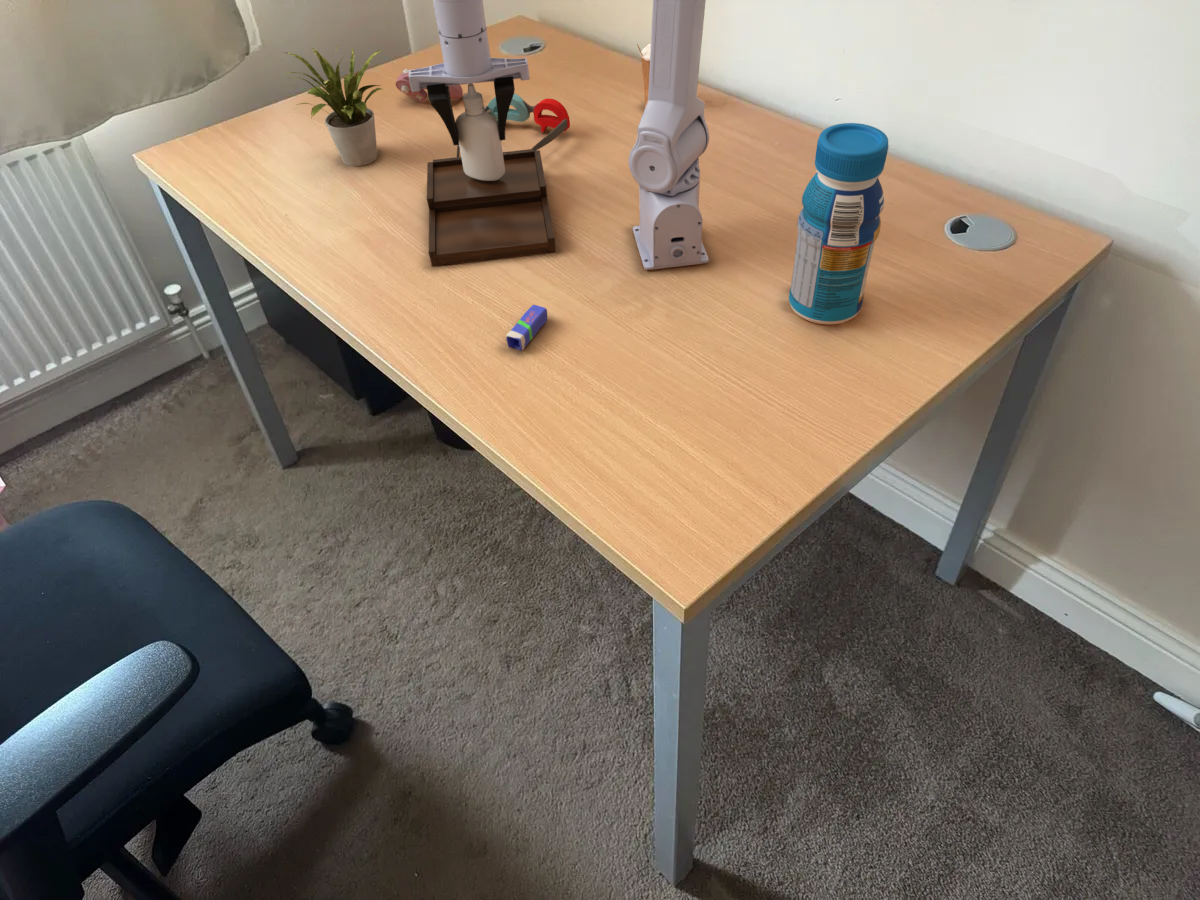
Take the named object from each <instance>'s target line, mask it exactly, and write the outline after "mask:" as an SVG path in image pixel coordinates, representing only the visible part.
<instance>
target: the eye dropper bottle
mask: <svg viewBox="0 0 1200 900" xmlns="http://www.w3.org/2000/svg"><path fill="white" fill-rule="evenodd" d="M462 99H463V100H462V101H463V108H464V111H463V112H461V113H460V114H459V115H458V116H457V117H456V118H455V122H456V128H457V133H458V138H459V147H460V150H459V151H460V153H459V154H460V157H461V159H462V164H463V170H464V172H465V174H466V175H468V176H470V177H472V178H474V179H478V180H484V181H496V180H498V179H500V178H501V177H502V176H503V175H504V174H505V166H504V159H503V152H504V151H503V146H502V145H503V144H502V140H500V136H499V125H498V122H497V120H496V119H495V118H494V117H493V116H492V115H490V114H489V113H487V112H485V111H484V108H485V104H484V99H483V94H482V93H481V92H479V91H476V88H475V85H474V83H472V84H467V92H466V93H464V95H463V96H462Z"/></svg>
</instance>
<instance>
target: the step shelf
mask: <svg viewBox="0 0 1200 900" xmlns="http://www.w3.org/2000/svg"><path fill="white" fill-rule="evenodd" d="M503 159H504V166H505V174H504V175H503V176H502V177H501V178H500V179H498V180H496V181H484V180H478V179H474V178H472V177H470V176H468V175H466V174H465V172H464V170H463V164H462V159H461V156H459V157H457V156H455V157H447V158H436V159H432V161H429V162H427V166H426V167H427V168H426V202H427V206H428V255H429V260H430V265H431V267H437V266H438V267H439V266H446V265H455V264H465V263H473V262H481V261H489V260H491V261H492V260H499V259H507V258H516V257H525V256H533V255H543V254H549V253H556V251H557V250H556V249H557V248H556V240H555V233H554V227H553V221H552V216H551V210H550V205H549V199H548V190H547V184H546V177H545V172H544V165H543V161H542V155H541V150H540V149H538V150H537V151H534V149H532V148H530V149H529V148H528V149H520V150H510V151H503Z"/></svg>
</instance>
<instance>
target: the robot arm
mask: <svg viewBox="0 0 1200 900" xmlns="http://www.w3.org/2000/svg"><path fill="white" fill-rule="evenodd" d="M432 5H433V6H432V7H433V11H434V17H435V21H436V27H437V32H438V33H437V34H438V39H439V45H440V50H441V55H442V62H440V63H437V64H433V65H429V66H425V67H419V68H420V69H417V68H414V70H413V69H408V70H409V81H410V86H411V91H412V92H417V91H420V90H421V89H424V88H427V90H426V92H427V94H428V95H427V100H428V102H429V103H430V105H431V106H432V108H433V109H434V110H435V111H436V113H437V114H438V116H439V118H441V120H442V122H443V123H444V126H445V127H446V129H447V131H448V134H449V135H450V138H451V142H452V145H453V146H458V145H459V138H458V133H457V128H456V118H455V115H454V110H453V105H452V99H451V98H450V91H449V86H453V85H460V86H462V85H468V84H480V83H490V82H493V88H494V94H495V96H494V97H496V104H497V111H498V125H499V136H500V140H501V141H505V140H506V126H507V121H508V120H507V115H508V110H509V109H510V107H511V105H510V104H511V101H512V98H513V95H514V93H515V90H516V89H515V82H514V80H519V79H520V80H521V81H530V80H531V79H530V70H529V62H528V58H527V57H522V58H521V57H520V58H509V57H508V58H507V57H506V58H505V57H492V56H491V50H490V42H489V35H488V28H487V22H486V15H485V8H484V0H432ZM705 11H706V0H652V12H651V13H652V15H651V16H652V17H651V32H650V33H651V34H650V44H651V52H650V72H649V92H648V102H647V105H645V107H644V111H643V112H642V114H641V115H642V116H641V117H640V120H639V123H638V126H637V132H636V133H637V134H636V135H637V136H636V141H635V142H634V145H633V146H632V147H631V150H630V152H629V155H628V167H629V171H630V174H631V176H632V177H633V179H634V180H635V182H636V183H637V185H638V197H639V199H638V200H639V201H638V203H639V204H638V206H639V212H638V213H639V225H635V226H632V233H633V236H634V237H633V238H634V239H635V243H636V246H637V249H638V253H639V256H640V257H639V258H640V259H641V263H642V268H643V269H644V270H645V271H652V270H660V269H668V268H677V267H687V266H694V265H702V264H708V263H709V256H708V253H707V250H706V248H705V245H704V243H703V215H702V212H701V210H700V207H699V206H700V185H701V184H700V183H701V170H700V169H701V168H700V157H702V155H703V154H704V153H705V151H706V150H707V148H708V146H709V143H710V131H709V127H708V125H707V122H706V117H705V108H706V103H705V102H704V100H702V99H700V97H698V86H699V85H698V84H699V74H700V64H701V55H702V54H701V53H702V45H703V44H702V43H703V31H704V23H705V20H704V19H705ZM424 90H425V89H424Z"/></svg>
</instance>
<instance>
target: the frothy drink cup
mask: <svg viewBox="0 0 1200 900" xmlns="http://www.w3.org/2000/svg"><path fill="white" fill-rule="evenodd" d="M636 46H637V48H638V51H639V54H640V60H641V61H640V62H641V71H642V79H643V80H642V81H643V92H644V93H643V94H644V104H645V106H646V105H647V102H648V92H649V72H650V52H651V43H648V44H646V46H645V47H644V48H642V50H641V48H640V45H639V44H638V43H636Z"/></svg>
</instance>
